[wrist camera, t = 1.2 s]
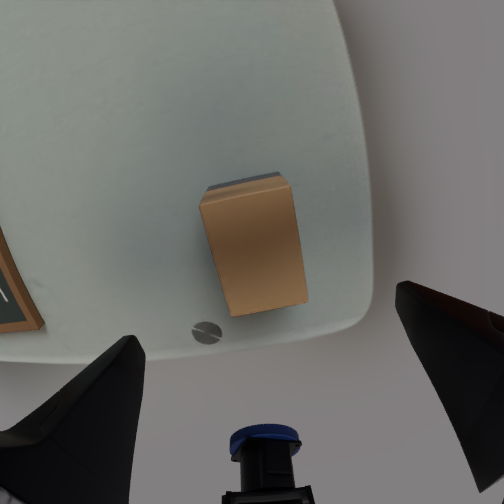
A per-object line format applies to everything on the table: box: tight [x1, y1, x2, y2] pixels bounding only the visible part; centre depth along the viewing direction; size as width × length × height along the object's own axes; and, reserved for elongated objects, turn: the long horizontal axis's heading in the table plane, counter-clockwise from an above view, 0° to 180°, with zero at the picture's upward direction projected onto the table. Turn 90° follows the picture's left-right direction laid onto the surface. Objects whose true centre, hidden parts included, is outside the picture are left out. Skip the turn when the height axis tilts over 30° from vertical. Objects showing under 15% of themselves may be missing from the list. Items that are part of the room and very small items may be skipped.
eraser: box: [199, 172, 308, 317], centre depth 15 cm, size 6×4×4 cm, turn 12°
